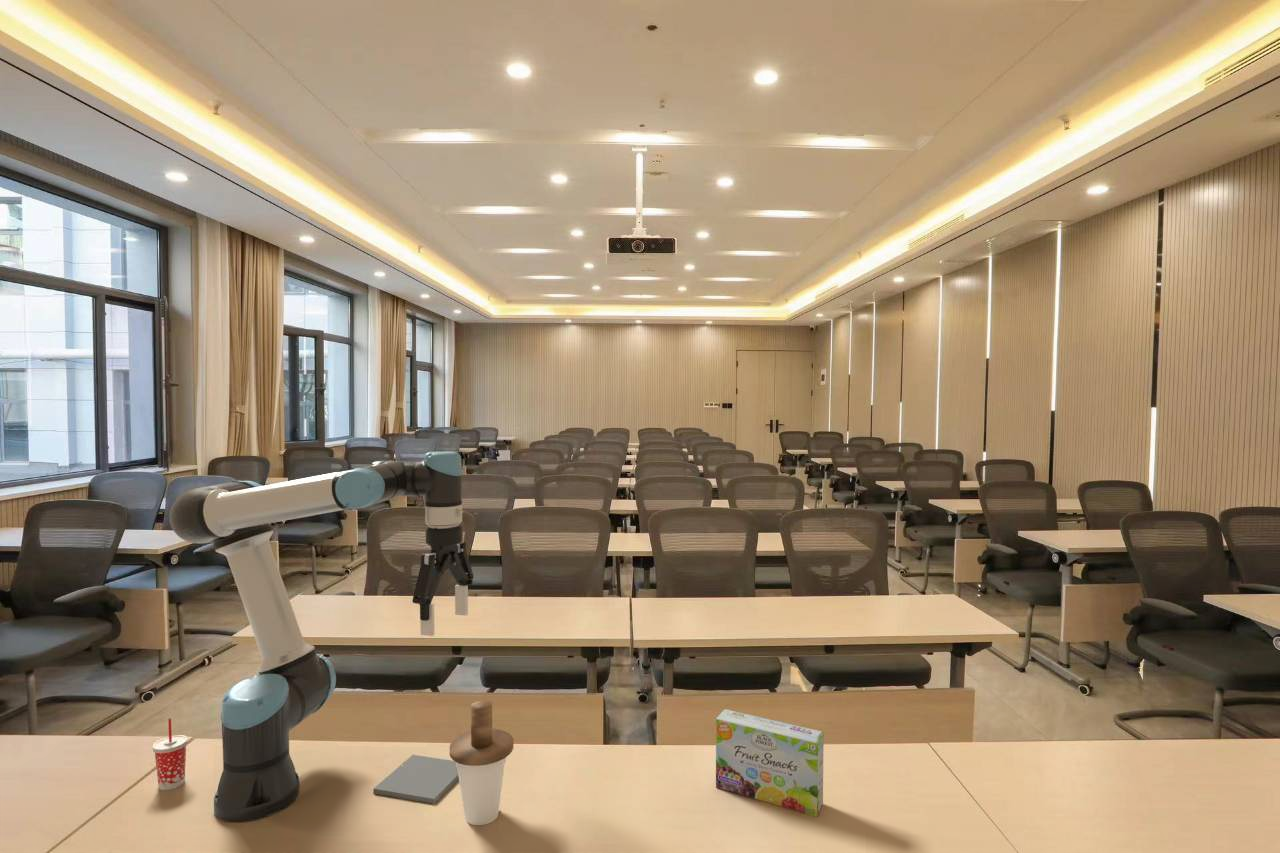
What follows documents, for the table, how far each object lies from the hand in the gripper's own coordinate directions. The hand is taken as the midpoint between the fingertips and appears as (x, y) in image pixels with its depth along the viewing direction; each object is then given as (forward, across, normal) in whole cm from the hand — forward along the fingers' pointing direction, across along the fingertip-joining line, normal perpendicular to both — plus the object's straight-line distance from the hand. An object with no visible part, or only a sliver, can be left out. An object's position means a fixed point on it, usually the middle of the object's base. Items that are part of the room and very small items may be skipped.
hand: (445, 624), depth 148 cm
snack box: (+33, +10, -67) cm, 75 cm away
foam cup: (+33, -11, -14) cm, 37 cm away
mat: (+33, -3, +4) cm, 33 cm away
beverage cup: (+33, -18, +54) cm, 66 cm away
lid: (+20, -11, -14) cm, 27 cm away
